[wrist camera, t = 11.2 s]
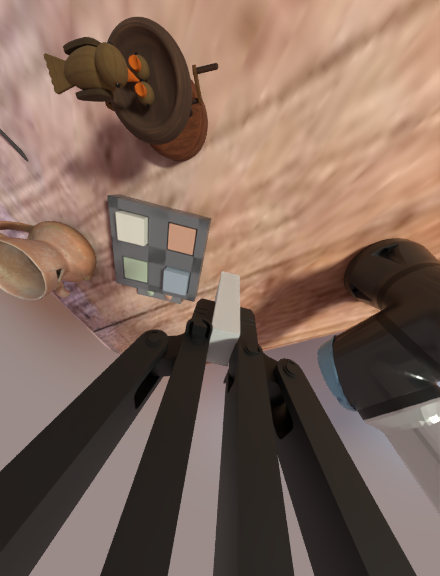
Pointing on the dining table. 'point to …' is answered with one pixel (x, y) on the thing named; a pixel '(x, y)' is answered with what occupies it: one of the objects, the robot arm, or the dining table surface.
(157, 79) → the music box
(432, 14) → the dining table surface
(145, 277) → the sage key
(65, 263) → the ceramic jug
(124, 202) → the keypad
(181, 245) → the terracotta key
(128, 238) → the cream key
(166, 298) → the plaque
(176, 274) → the slate key
